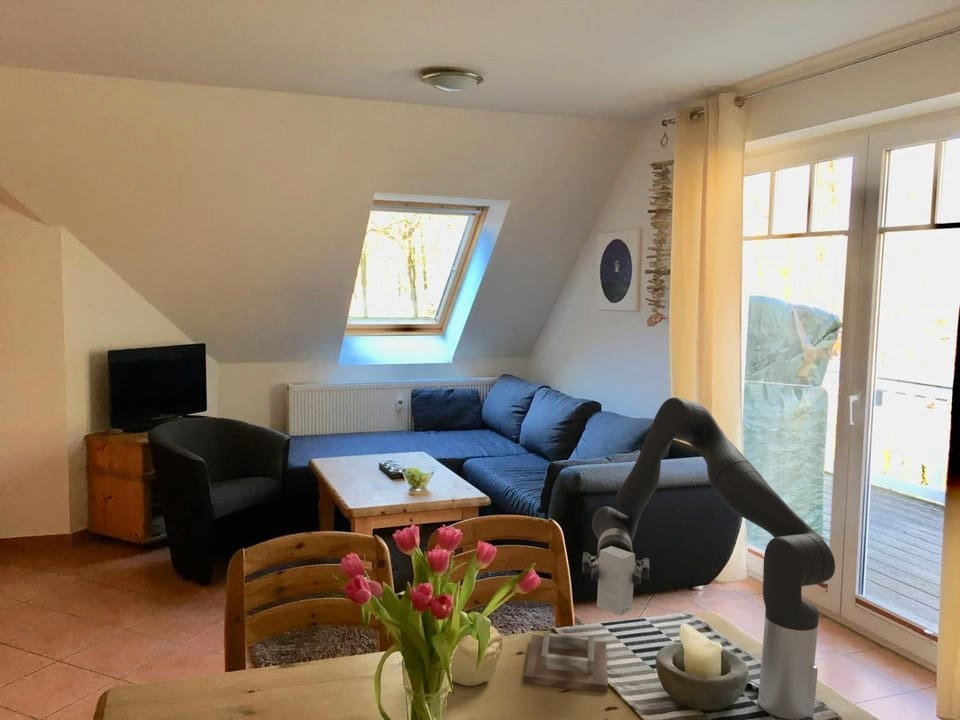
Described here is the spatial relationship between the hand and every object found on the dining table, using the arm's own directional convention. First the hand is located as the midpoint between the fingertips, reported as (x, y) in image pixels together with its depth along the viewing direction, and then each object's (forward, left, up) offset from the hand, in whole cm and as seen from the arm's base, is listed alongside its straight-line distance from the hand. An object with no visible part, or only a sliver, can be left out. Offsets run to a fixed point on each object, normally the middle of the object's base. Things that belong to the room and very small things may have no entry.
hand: (616, 579), depth 155 cm
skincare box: (0, -2, -7) cm, 8 cm away
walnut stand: (+9, -2, -20) cm, 22 cm away
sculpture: (+28, +7, -20) cm, 35 cm away
